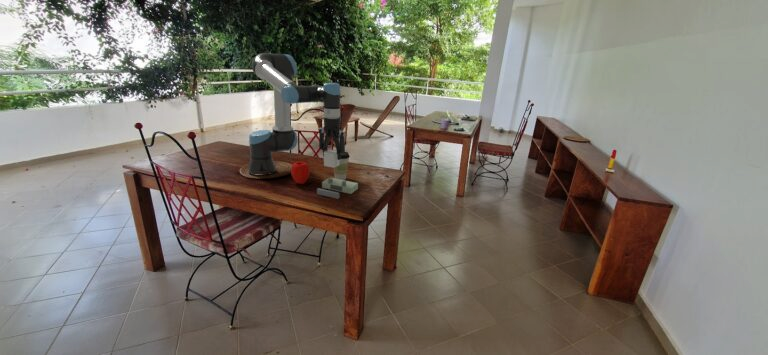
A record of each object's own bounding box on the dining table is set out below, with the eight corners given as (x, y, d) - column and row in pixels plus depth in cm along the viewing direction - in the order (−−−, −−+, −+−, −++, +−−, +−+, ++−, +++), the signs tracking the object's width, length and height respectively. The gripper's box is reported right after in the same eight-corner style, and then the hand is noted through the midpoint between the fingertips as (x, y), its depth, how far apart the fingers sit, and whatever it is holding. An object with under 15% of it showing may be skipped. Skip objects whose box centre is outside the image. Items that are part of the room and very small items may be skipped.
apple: (288, 181, 179) (287, 159, 175) (305, 178, 184) (304, 157, 180) (295, 187, 171) (294, 165, 167) (312, 184, 177) (312, 162, 173)
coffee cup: (346, 182, 182) (346, 156, 177) (329, 180, 184) (329, 154, 179) (351, 176, 191) (351, 151, 186) (335, 174, 193) (335, 150, 188)
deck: (312, 193, 166) (312, 182, 164) (329, 182, 180) (330, 173, 178) (342, 200, 160) (342, 189, 158) (357, 188, 175) (358, 178, 173)
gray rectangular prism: (329, 163, 165) (329, 149, 163) (339, 164, 163) (339, 151, 161) (323, 165, 160) (323, 151, 158) (333, 167, 158) (333, 153, 156)
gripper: (310, 116, 154) (311, 163, 162) (345, 120, 147) (344, 169, 155) (319, 114, 160) (320, 159, 168) (353, 118, 154) (352, 165, 162)
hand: (331, 164), depth 162 cm, fingers closed on gray rectangular prism, 5 cm apart
